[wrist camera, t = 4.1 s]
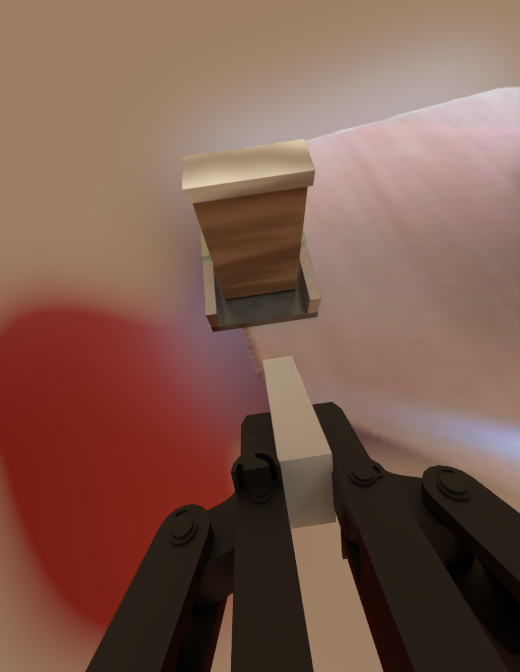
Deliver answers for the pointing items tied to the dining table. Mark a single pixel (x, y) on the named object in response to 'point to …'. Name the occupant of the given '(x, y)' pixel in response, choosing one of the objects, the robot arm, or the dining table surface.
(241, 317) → the track
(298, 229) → the brown wooden tall block
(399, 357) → the dining table surface
